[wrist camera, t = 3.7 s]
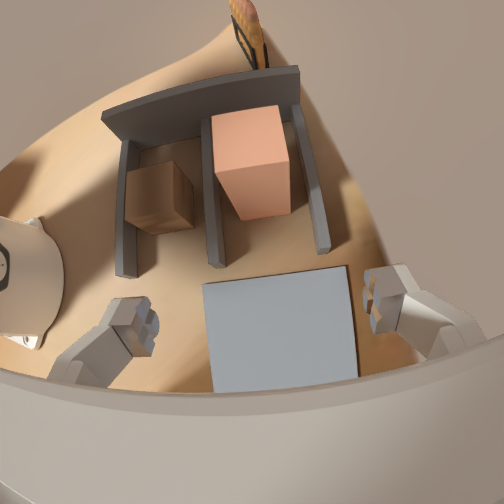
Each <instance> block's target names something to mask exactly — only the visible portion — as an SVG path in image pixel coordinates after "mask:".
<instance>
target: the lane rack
mask: <svg viewBox="0 0 504 504" xmlns="http://www.w3.org/2000/svg"><path fill="white" fill-rule="evenodd" d="M275 105H278V108H279V113H280V118H281V122H285V121H292V126H293V130H294V134H295V139H296V143H297V148H298V152H299V157H300V162H301V167H302V172H303V177H304V182H305V187H306V192H307V197H308V203H309V208H310V214H311V219H312V225H313V231H314V237H315V243H316V250H317V255H321V254H327V253H328V252H329V250H330V249H331V242H330V236H329V230H328V225H327V219H326V214H325V209H324V204H323V199H322V194H321V189H320V184H319V180H318V175H317V171H316V166H315V162H314V157H313V153H312V149H311V145H310V141H309V137H308V133H307V129H306V125H305V121H304V117H303V113H302V110H301V106H300V71H299V68H298V65H293V66H282V67H274V68H266V69H259V70H252V71H246V72H240V73H234V74H229V75H224V76H219V77H214V78H209V79H205V80H201V81H196V82H192V83H188V84H184V85H181V86H177V87H173V88H170V89H166V90H163V91H159V92H156V93H153V94H150V95H147V96H144V97H141V98H138V99H135V100H132V101H129V102H126V103H123V104H121V105H118V106H115V107H113V108H110V109H108V110H105V111H103V112H102V116H101V120H102V121H103V122H104V123H105V125H106V126H107V127H108V128H109V129H110V130H111V131H112V132H113V133H114V134H115V135H116V136H117V137H118V138H119V139H120V140H121V141H122V145H121V153H120V162H119V173H118V185H117V200H116V222H115V276H119V277H124V278H128V279H134V278H138V277H137V227H136V226H135V225H133V224H131V223H129V222H128V221H126V220H125V200H126V181H127V172H130V171H133V170H137V169H139V154H140V151H142V150H146V149H149V148H153V147H157V146H160V145H164V144H168V143H172V142H176V141H180V140H185V139H189V138H193V137H198V136H201V152H202V175H203V195H204V212H205V227H206V241H207V254H208V264H210V265H212V266H213V267H215V268H223V267H226V259H225V249H224V238H223V226H222V214H221V202H220V189H219V179H218V177H217V176H216V174H215V167H214V151H213V134H212V116H215V115H220V114H225V113H230V112H236V111H242V110H248V109H254V108H260V107H267V106H275Z"/></svg>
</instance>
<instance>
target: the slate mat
mask: <svg viewBox="0 0 504 504" xmlns="http://www.w3.org/2000/svg"><path fill="white" fill-rule="evenodd" d="M202 288H203V299H204V310H205V320H206V329H207V338H208V347H209V356H210V364H211V372H212V380H213V387H214V393H226V392H247V391H262V390H274V389H284V388H293V387H301V386H309V385H316V384H323V383H330V382H336V381H342V380H347V379H353V378H358V372H357V359H356V348H355V337H354V328H353V319H352V310H351V303H350V295H349V288H348V281H347V274H346V268H345V266H342V267H335V268H328V269H321V270H314V271H307V272H299V273H292V274H284V275H277V276H269V277H261V278H253V279H245V280H237V281H229V282H221V283H212V284H203V285H202Z"/></svg>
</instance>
